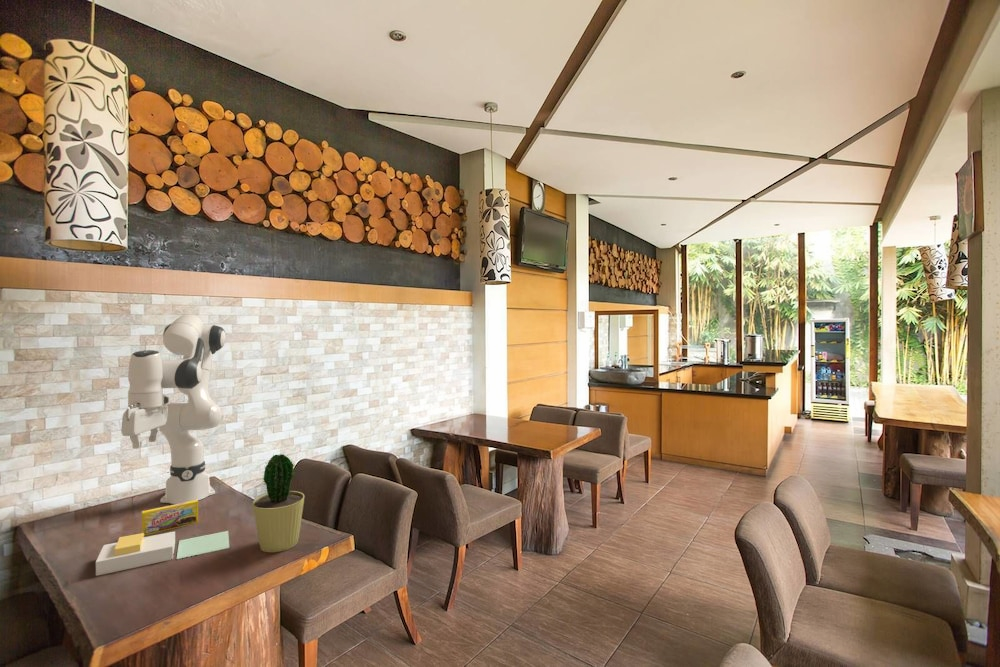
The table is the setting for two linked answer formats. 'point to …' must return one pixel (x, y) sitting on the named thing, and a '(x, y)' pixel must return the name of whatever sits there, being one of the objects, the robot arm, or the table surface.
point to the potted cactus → (278, 507)
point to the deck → (137, 554)
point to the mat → (203, 544)
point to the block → (129, 544)
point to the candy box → (169, 517)
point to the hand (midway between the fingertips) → (145, 444)
